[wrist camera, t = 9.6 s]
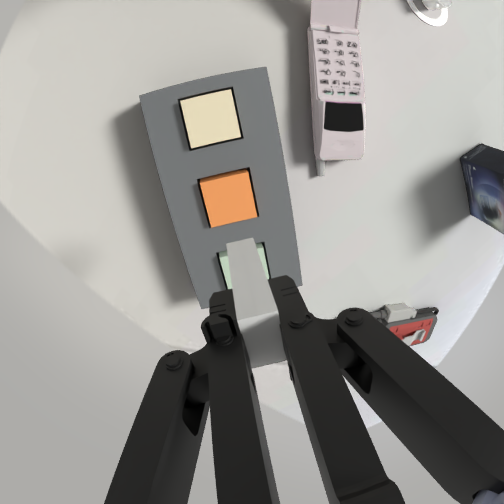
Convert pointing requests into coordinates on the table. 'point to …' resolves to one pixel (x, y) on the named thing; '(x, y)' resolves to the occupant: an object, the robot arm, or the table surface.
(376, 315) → the walkie-talkie
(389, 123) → the table surface
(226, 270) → the sage button
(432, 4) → the white candle holder
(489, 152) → the small box
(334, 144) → the mobile phone
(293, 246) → the button console
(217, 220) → the orange button
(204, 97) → the sand button
